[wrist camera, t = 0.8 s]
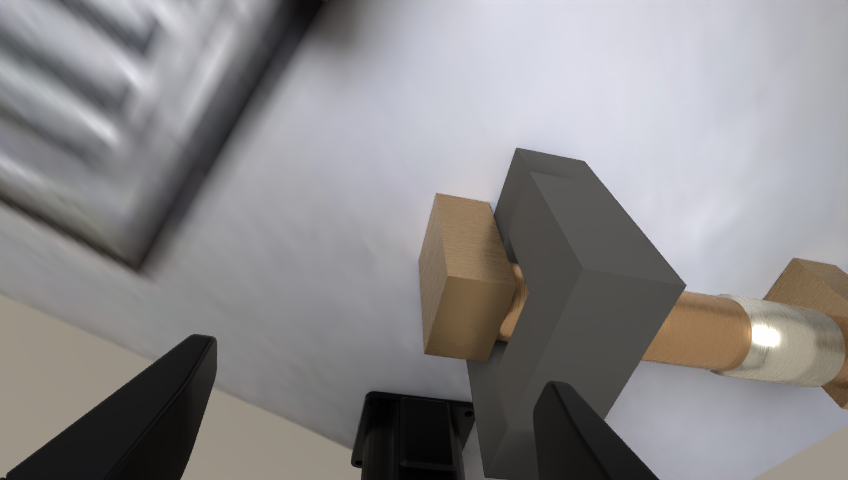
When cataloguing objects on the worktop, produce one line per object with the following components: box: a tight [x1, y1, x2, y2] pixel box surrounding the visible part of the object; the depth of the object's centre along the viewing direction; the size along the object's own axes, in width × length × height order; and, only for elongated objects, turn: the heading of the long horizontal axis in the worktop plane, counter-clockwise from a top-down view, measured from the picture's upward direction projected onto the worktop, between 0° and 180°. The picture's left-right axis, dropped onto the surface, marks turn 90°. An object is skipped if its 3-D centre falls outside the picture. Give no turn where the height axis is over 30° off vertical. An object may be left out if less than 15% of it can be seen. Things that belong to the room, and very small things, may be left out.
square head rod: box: [419, 193, 848, 409], centre depth 21 cm, size 20×4×6 cm, turn 78°
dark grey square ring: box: [466, 148, 687, 480], centre depth 19 cm, size 3×9×9 cm, turn 168°
